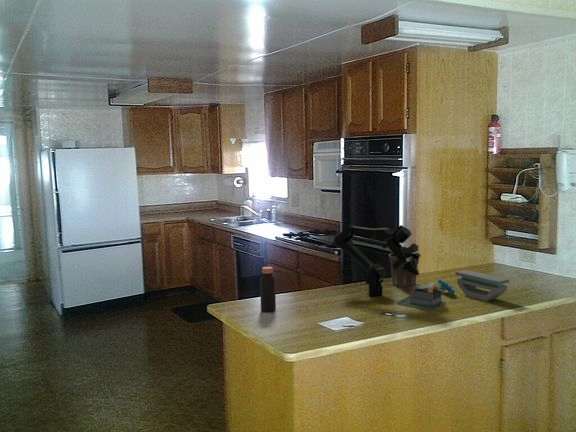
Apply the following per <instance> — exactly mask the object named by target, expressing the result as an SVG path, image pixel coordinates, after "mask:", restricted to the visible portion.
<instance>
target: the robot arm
mask: <svg viewBox="0 0 576 432" xmlns="http://www.w3.org/2000/svg"><path fill="white" fill-rule="evenodd" d="M356 235H357V236H363V237H371V238H373V239H375V240H377V241H381V242H382V249H386V248H387V249H388V250H389V251H390V252H391V253H393V255H392V256H393V257H396V258H397V260H396V261H395V262H394V263H393V264H392V267H393V268H394V269H395V270H396V269H398V267H399V266H400V265H401V264H402V266H403V267H402V269H404V270H407V271H409V272H411V273H413V274H415V275H416V276H419V275H420V272H419V270H418V266H417V267H416V264H415V261H416V260H417V259H418V258H419V259H420V257H421V256H422V255H421V254H420V252H419V247H420V246H419V245H418V244H416V243H415V242H414V243H412V244H410V246H407V247H406V246H403V245H402V244H404V243H405V242H406V241H407V240H408V239H409V238H410V237H411V236H412V231H411V230H410V229H409V228H407V227H405V226H404V225H399V226H398V227H397V229H396V230H391V229H390V228H389V227H379V228H370V227H363V226H356V225H349V226H348V227H347V228H346V229H345V230H343V231H341V232H340V233H339V234H338V235H336V236H335V237H334V238H333V239H334V240H333V241H334V242H333V243H334V245H335V246H336V247H337V248H340V250H344V251H345V252H347V253H348V255H350V256H351V257H352V258H353V259H354V260H355V261H356V262H357V263H358V264H359V265H360V266H361V267H362V268H363V269H364V270H365V272H366V274H367V276H368V277H366V278H365V280H364V281H365V284H366V285H367V292H366V294H367V296H368V297H370V298H373V297H376V298H378V297H383V286H382V283H384V280H385V279H386V276H387V271H386V270H385V267H383V266H382V265H381V264H380V263H373V262H372V261H371V259H369V258H368V257H367V256H366V255H365V254H364V253H363V252H361V250H360V249H359V248H358V247H356V246H355V245H354V242H353V240H352V239H353V238H354V236H356ZM385 241H386V242H385ZM412 253H413V254H412Z"/></svg>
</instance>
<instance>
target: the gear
mask: <svg viewBox="0 0 576 432" xmlns="http://www.w3.org/2000/svg"><path fill="white" fill-rule="evenodd" d="M437 284H438V286H437V287H438V290H441V295H442V294H443V293H444V292H445V291H447V292H449V293H451V294H455V293H456V290H455V289H454V288H453V287H452V286H450V285H449V283H448V282H445V280H441V279H437Z"/></svg>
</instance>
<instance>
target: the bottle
mask: <svg viewBox="0 0 576 432" xmlns="http://www.w3.org/2000/svg"><path fill="white" fill-rule="evenodd" d="M261 274H262V276H261V277H260V279H259V284H260V285H259V287H260V288H259V289H260V292H259V293H260V312H262V313H264V312H271V313H275V312H276V311H277V309H276V307H277V305H276V298H277V295H276V278H275V277H274V275H273V274H274V268H273V267H272V266H263V267H262V268H261Z"/></svg>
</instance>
